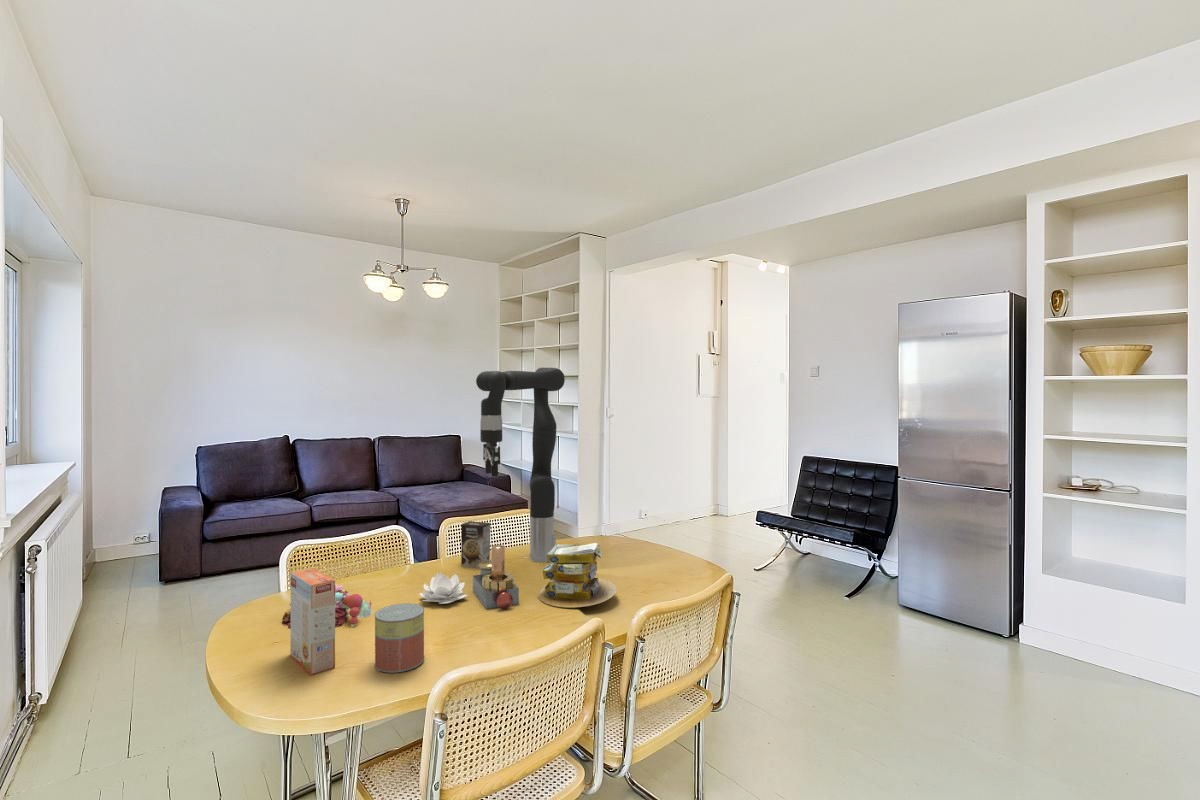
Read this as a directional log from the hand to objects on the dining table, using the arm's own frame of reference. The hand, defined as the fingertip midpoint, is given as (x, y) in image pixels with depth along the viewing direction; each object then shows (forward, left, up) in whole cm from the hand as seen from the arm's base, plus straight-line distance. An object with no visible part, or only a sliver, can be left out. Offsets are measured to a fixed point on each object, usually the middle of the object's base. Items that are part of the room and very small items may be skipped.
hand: (491, 474), depth 204 cm
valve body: (+4, +20, -36) cm, 41 cm away
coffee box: (+2, -16, -36) cm, 40 cm away
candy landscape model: (+51, +16, -37) cm, 65 cm away
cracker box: (+55, +46, -36) cm, 80 cm away
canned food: (+36, +54, -36) cm, 74 cm away
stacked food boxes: (-24, +31, -39) cm, 55 cm away
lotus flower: (+19, +16, -36) cm, 44 cm away
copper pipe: (+4, +24, -31) cm, 39 cm away
